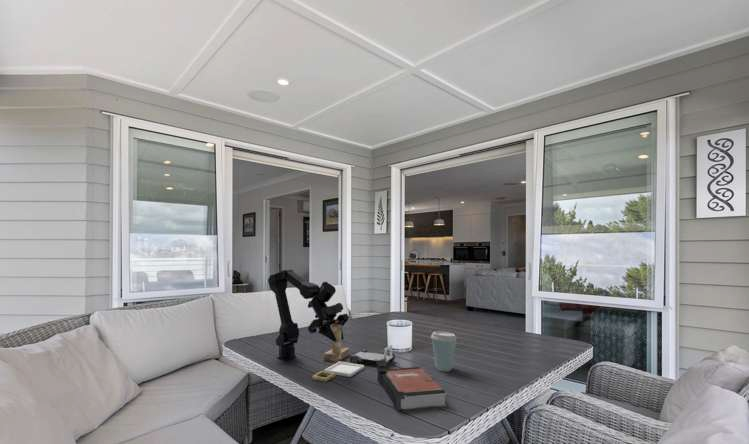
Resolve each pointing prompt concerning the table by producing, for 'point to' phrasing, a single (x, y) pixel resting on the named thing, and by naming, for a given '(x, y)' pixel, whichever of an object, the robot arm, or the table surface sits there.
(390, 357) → the trolley
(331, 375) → the pin socket
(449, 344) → the disposable coffee cup
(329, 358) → the bar
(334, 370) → the tray
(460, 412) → the table surface
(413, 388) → the book
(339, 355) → the pin
